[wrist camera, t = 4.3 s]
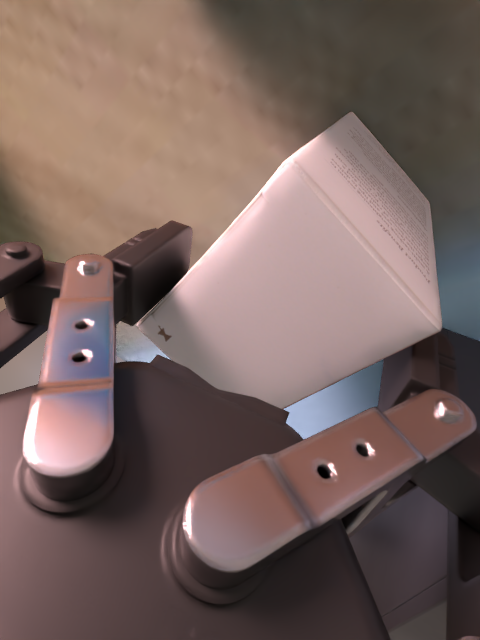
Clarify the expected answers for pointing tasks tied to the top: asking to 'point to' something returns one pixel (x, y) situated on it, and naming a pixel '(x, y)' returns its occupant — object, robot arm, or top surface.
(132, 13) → the top surface
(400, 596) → the cover
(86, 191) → the top surface
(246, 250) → the small box
